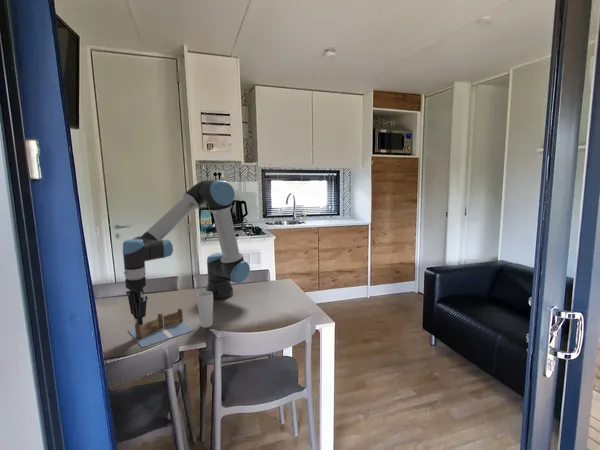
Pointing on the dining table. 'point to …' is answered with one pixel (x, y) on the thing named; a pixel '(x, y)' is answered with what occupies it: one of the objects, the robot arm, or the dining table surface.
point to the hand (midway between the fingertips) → (139, 331)
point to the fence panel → (149, 327)
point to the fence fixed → (173, 318)
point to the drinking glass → (205, 308)
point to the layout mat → (162, 334)
